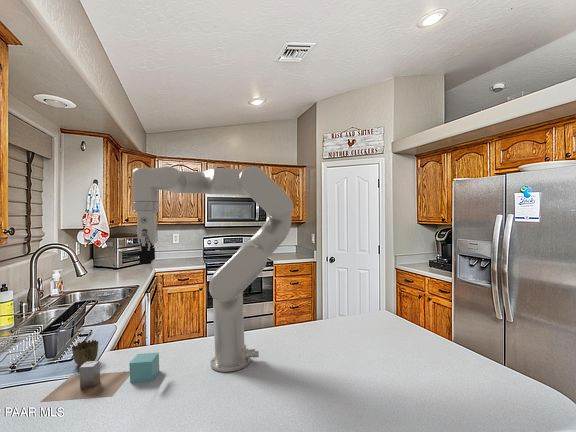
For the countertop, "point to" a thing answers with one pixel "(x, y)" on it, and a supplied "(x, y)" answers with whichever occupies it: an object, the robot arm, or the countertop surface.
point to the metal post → (89, 374)
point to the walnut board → (102, 389)
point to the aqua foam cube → (144, 367)
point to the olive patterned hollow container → (85, 351)
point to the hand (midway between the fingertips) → (147, 261)
